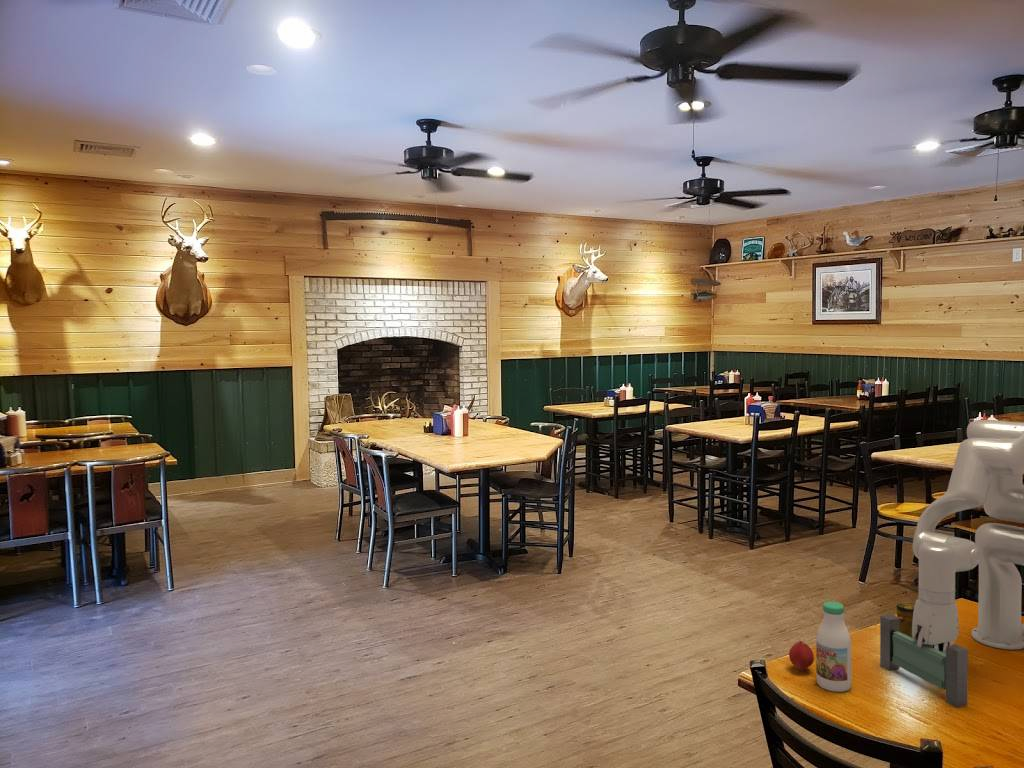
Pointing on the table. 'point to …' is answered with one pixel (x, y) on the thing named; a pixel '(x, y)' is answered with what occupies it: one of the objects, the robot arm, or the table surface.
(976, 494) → the robot arm
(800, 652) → the onion
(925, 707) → the table surface
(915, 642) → the gate
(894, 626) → the gate posts
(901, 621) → the condiment
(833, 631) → the milk bottle
